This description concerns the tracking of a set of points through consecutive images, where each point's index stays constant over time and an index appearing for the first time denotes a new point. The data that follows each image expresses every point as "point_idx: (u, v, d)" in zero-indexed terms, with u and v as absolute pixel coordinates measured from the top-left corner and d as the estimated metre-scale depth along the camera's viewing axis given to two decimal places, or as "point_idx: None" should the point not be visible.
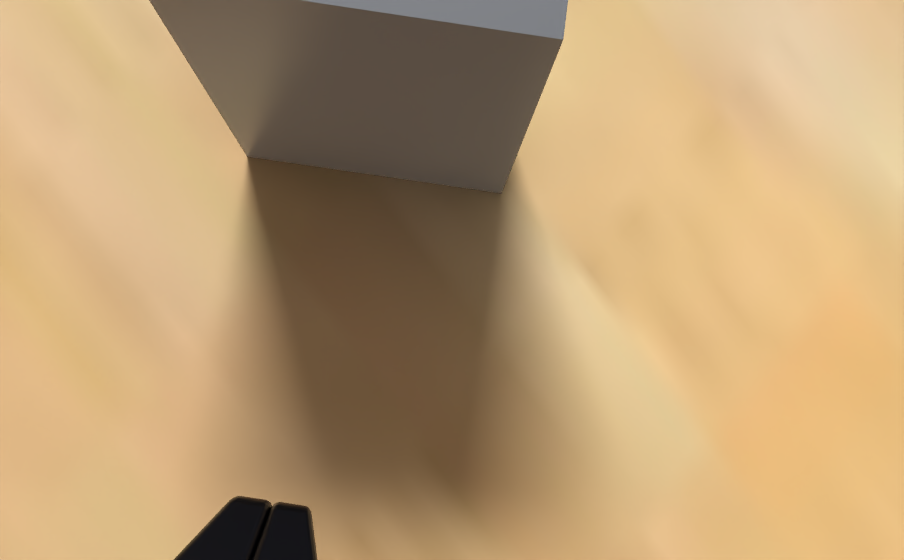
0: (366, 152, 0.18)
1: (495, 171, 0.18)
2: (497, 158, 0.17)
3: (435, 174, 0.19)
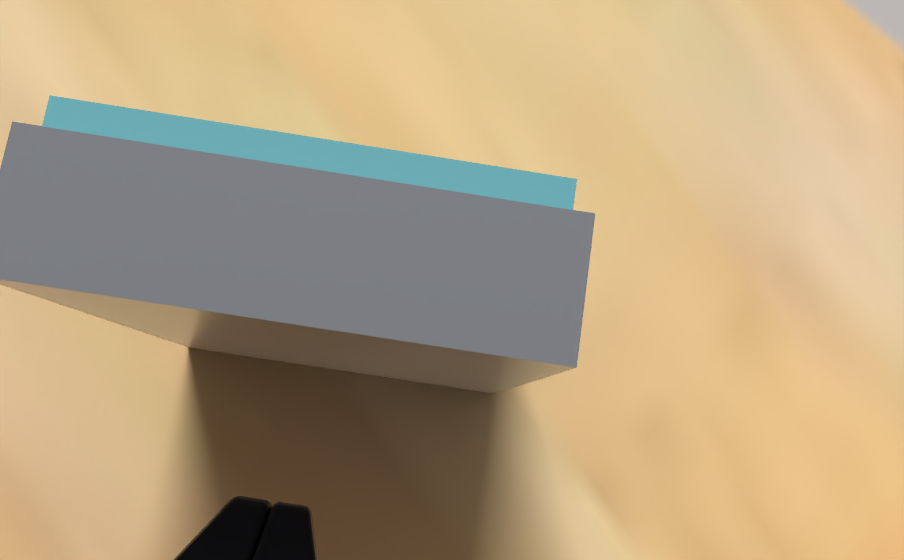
0: (328, 363, 0.14)
1: (486, 387, 0.14)
2: (488, 385, 0.14)
3: (413, 379, 0.15)
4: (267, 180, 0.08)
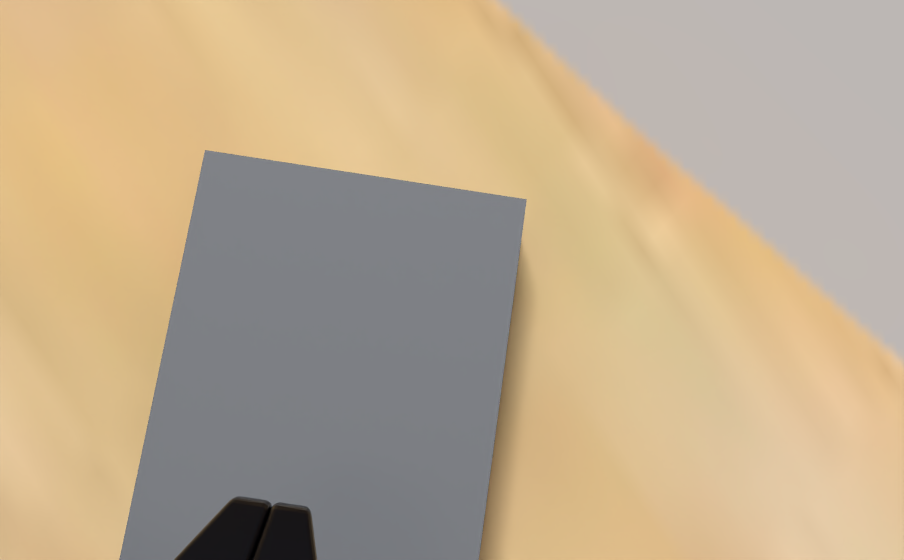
0: None
1: (461, 551, 0.14)
2: (466, 501, 0.14)
3: None
4: None
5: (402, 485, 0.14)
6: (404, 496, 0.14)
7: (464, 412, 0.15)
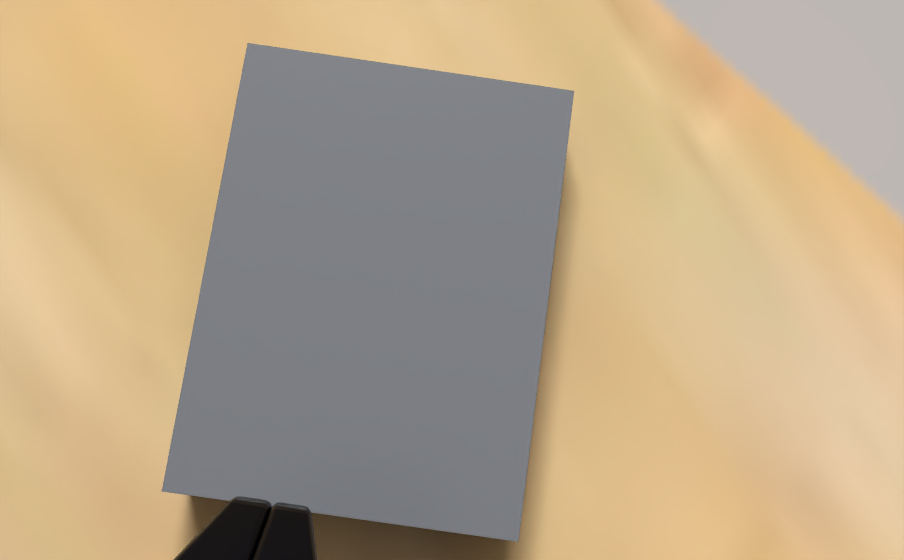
0: (349, 418, 0.14)
1: (512, 441, 0.14)
2: (516, 391, 0.14)
3: (430, 485, 0.14)
4: None
5: (452, 375, 0.14)
6: (454, 386, 0.14)
7: (513, 303, 0.14)
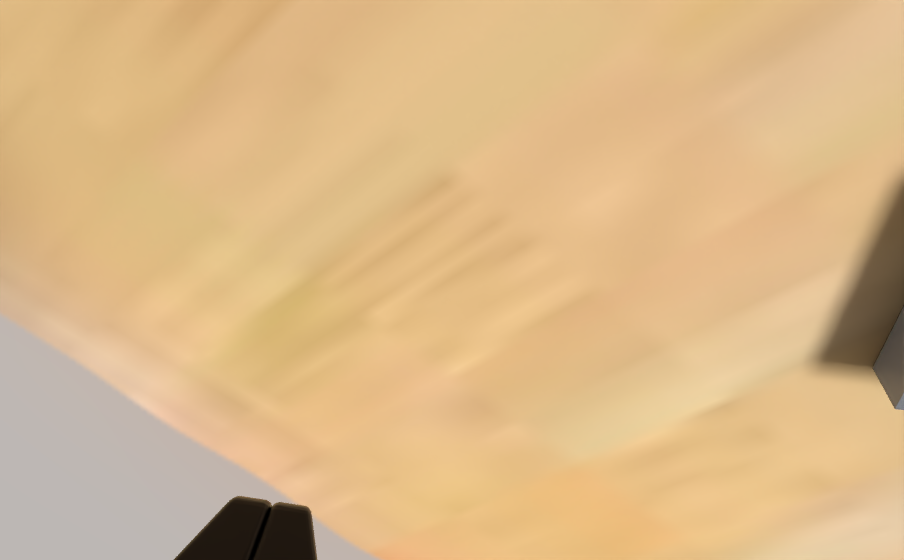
0: None
1: None
2: None
3: None
4: None
5: None
6: None
7: None
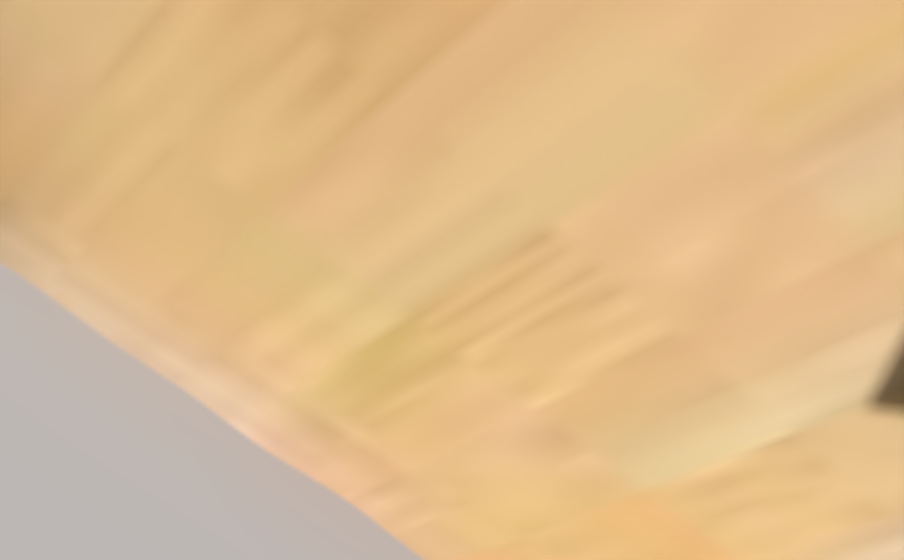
0: None
1: None
2: None
3: None
4: None
5: None
6: None
7: None
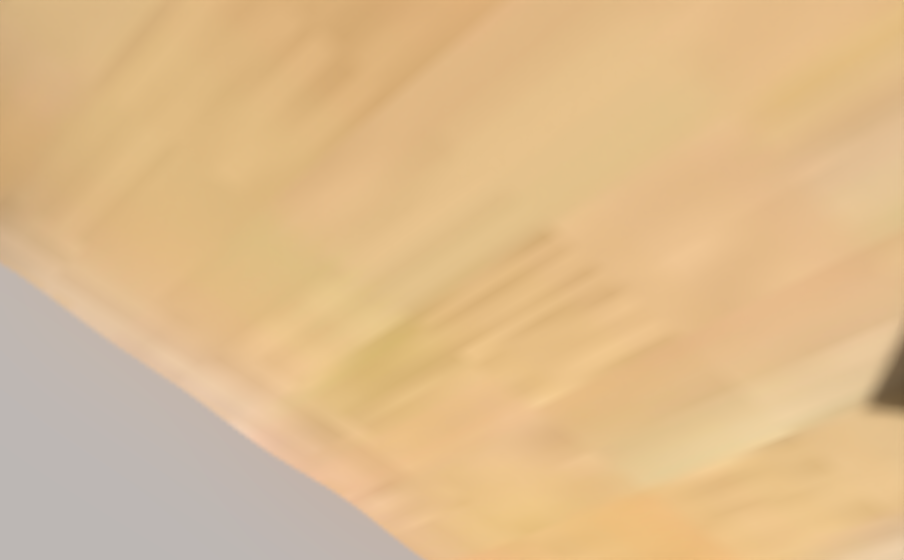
0: None
1: None
2: None
3: None
4: None
5: None
6: None
7: None
